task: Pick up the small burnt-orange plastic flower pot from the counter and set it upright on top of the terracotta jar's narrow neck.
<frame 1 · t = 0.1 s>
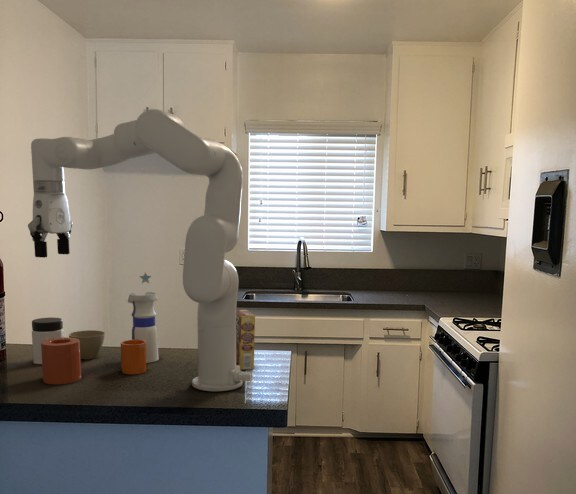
hand: (52, 255, 163), 31 cm above the countertop, tool pointing down, fingers open, 9 cm apart
orange cup: (134, 371, 169), on the countertop
candy box: (244, 366, 175), on the countertop
flower pot: (88, 358, 183), on the countertop
jar: (49, 362, 178), on the countertop
terracotta jar: (62, 379, 161), on the countertop
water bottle: (144, 360, 181), on the countertop
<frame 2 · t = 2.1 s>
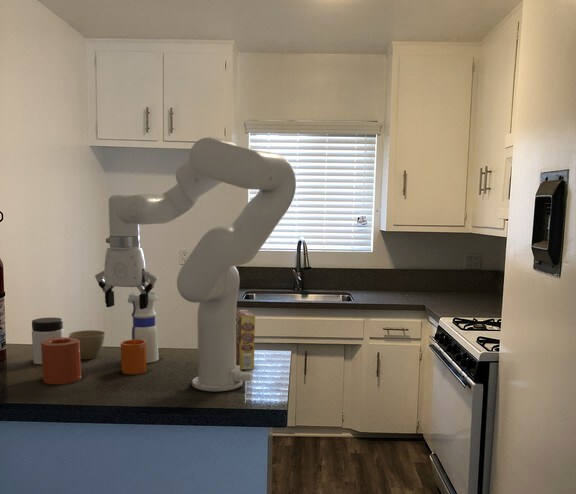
hand: (126, 307, 166), 17 cm above the countertop, tool pointing down, fingers open, 9 cm apart
nothing on the countertop moved.
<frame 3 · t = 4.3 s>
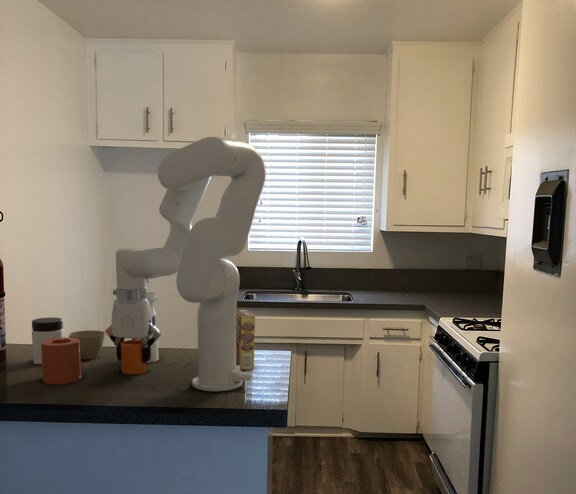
hand: (133, 360, 169), 3 cm above the countertop, tool pointing down, fingers closed on orange cup, 6 cm apart
orange cup: (134, 371, 169), on the countertop, touching gripper
everything else where it was.
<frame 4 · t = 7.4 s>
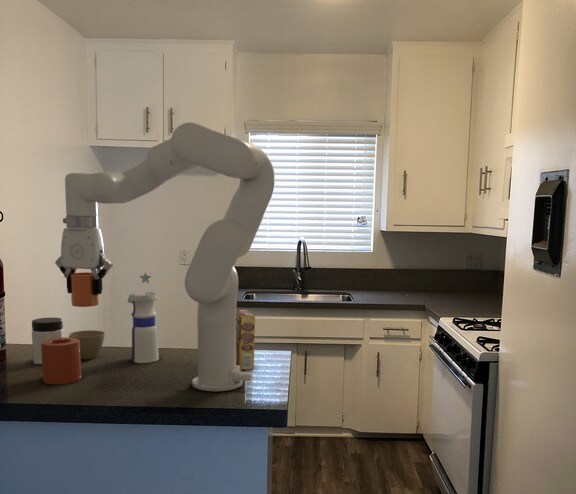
hand: (84, 292, 160), 22 cm above the countertop, tool pointing down, fingers closed on orange cup, 6 cm apart
orange cup: (85, 304, 161), point 19 cm above the countertop, touching gripper
everything else where it was.
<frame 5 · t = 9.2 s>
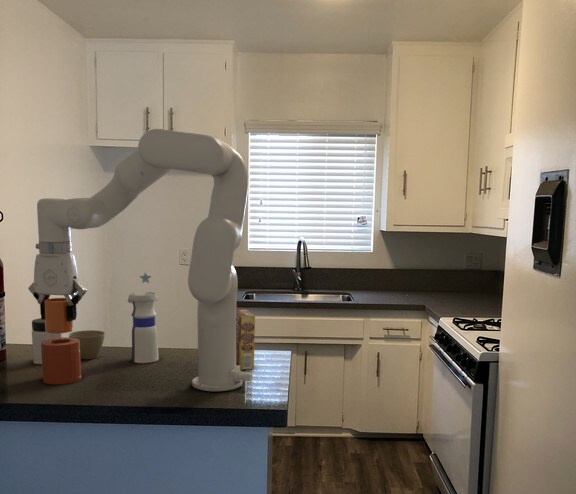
hand: (58, 319, 158), 16 cm above the countertop, tool pointing down, fingers closed on orange cup, 6 cm apart
orange cup: (59, 330, 159), point 13 cm above the countertop, touching gripper
everything else where it was.
when the fingers open (13 cm above the countertop, at t = 10.5 s): orange cup stays where it is, resting on terracotta jar.
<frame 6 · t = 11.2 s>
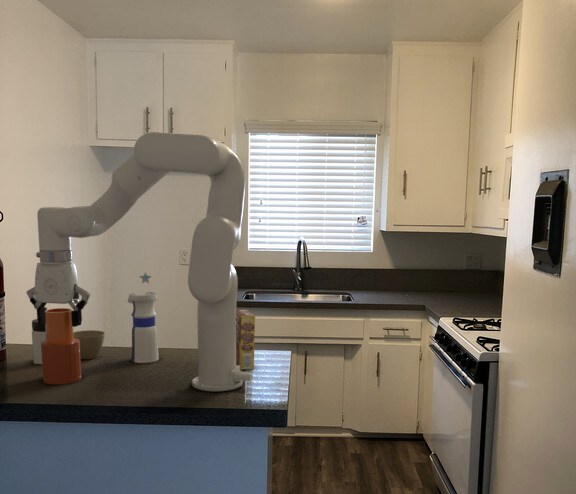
hand: (59, 324, 158), 14 cm above the countertop, tool pointing down, fingers open, 9 cm apart
orange cup: (60, 341, 159), point 10 cm above the countertop, touching terracotta jar
everything else where it was.
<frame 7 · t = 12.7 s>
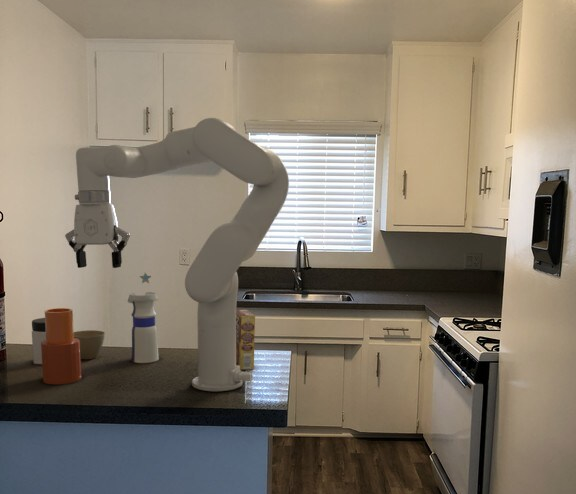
hand: (99, 267, 158), 29 cm above the countertop, tool pointing down, fingers open, 9 cm apart
nothing on the countertop moved.
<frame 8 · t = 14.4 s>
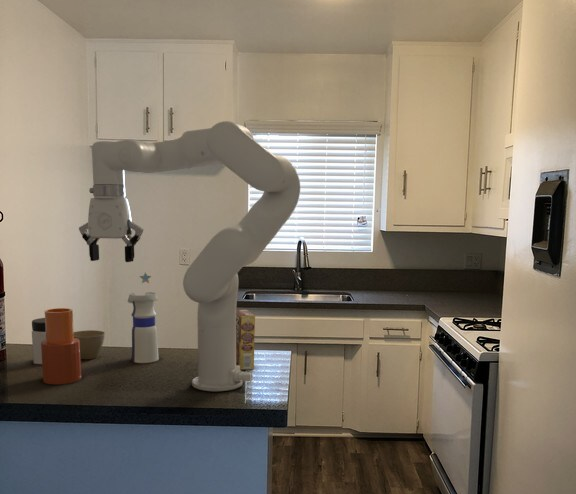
hand: (112, 261, 159), 30 cm above the countertop, tool pointing down, fingers open, 9 cm apart
nothing on the countertop moved.
at the end: orange cup 0.1 cm off-centre on the terracotta jar, point 10.0 cm above the terracotta jar's base; orange cup tilted 0°; the gripper is holding nothing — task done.
